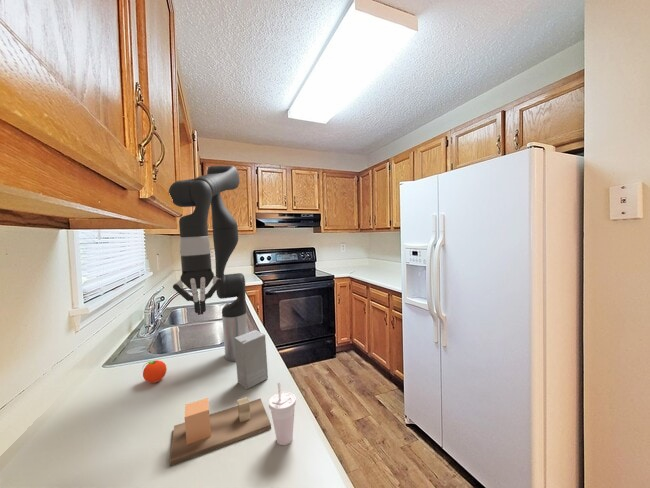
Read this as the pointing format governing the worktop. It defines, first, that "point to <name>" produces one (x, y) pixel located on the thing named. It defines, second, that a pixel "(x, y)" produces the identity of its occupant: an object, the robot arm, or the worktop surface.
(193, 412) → the light orange block
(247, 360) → the skincare box
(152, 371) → the tomato
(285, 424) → the smoothie
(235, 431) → the post board
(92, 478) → the worktop surface
